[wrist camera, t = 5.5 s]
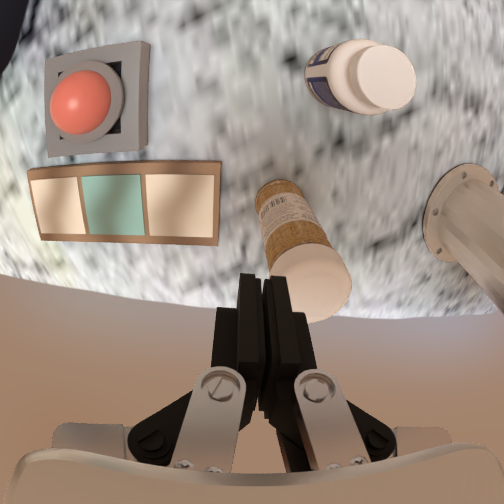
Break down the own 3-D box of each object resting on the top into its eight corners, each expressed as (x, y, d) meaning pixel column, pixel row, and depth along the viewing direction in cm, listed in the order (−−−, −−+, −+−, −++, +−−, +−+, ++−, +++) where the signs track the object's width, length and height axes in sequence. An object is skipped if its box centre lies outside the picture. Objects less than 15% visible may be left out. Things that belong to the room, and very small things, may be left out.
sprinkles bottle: (265, 230, 29) (287, 336, 17) (247, 188, 26) (259, 281, 15) (310, 213, 28) (359, 309, 16) (295, 170, 26) (345, 248, 14)
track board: (221, 161, 25) (220, 164, 24) (218, 241, 29) (217, 247, 28) (30, 168, 23) (25, 171, 22) (44, 236, 27) (40, 241, 26)
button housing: (150, 44, 19) (141, 40, 16) (147, 144, 23) (138, 150, 21) (60, 60, 18) (45, 59, 16) (62, 150, 23) (48, 157, 20)
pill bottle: (361, 110, 23) (422, 129, 14) (302, 104, 22) (342, 116, 14) (364, 54, 20) (427, 46, 12) (304, 44, 20) (345, 24, 11)
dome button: (134, 57, 19) (108, 51, 14) (133, 134, 22) (108, 148, 17) (65, 68, 18) (29, 70, 13) (66, 139, 21) (33, 155, 17)
